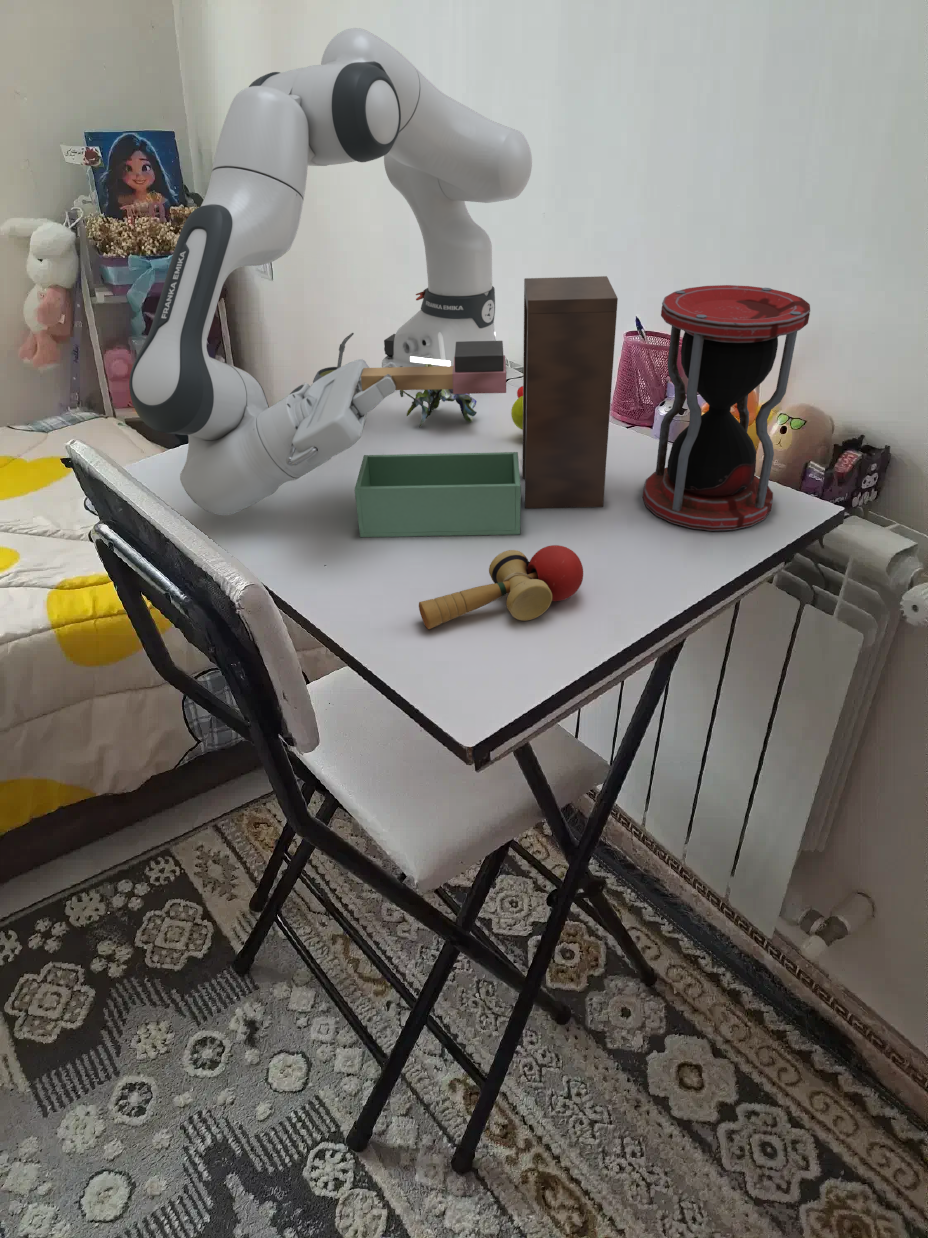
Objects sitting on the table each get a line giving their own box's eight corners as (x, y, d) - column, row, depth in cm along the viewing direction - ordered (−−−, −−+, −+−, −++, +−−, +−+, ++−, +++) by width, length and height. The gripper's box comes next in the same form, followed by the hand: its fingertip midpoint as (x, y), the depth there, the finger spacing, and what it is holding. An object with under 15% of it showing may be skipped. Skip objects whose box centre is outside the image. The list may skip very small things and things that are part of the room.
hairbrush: (360, 396, 97) (356, 359, 95) (366, 378, 102) (363, 342, 100) (506, 393, 97) (506, 355, 94) (505, 375, 102) (505, 339, 99)
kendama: (442, 661, 87) (601, 601, 90) (427, 607, 84) (592, 547, 87) (421, 631, 93) (569, 577, 97) (406, 580, 91) (560, 526, 94)
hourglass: (730, 545, 101) (766, 331, 87) (617, 504, 111) (634, 305, 96) (794, 498, 111) (836, 298, 96) (685, 464, 120) (709, 276, 106)
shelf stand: (525, 508, 111) (527, 300, 96) (522, 474, 119) (524, 278, 104) (603, 506, 110) (617, 297, 96) (594, 473, 119) (607, 275, 104)
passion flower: (467, 452, 139) (496, 406, 128) (404, 454, 134) (429, 406, 124) (449, 395, 142) (476, 346, 132) (388, 394, 138) (410, 343, 128)
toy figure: (553, 463, 121) (555, 418, 118) (514, 465, 122) (514, 419, 118) (543, 415, 136) (544, 374, 132) (508, 417, 136) (508, 375, 132)
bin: (359, 537, 106) (354, 488, 102) (368, 501, 114) (363, 454, 110) (520, 534, 105) (520, 485, 101) (517, 498, 113) (517, 451, 109)
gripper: (265, 447, 93) (369, 382, 89) (298, 382, 110) (387, 325, 106) (301, 492, 96) (403, 432, 92) (327, 422, 113) (415, 369, 109)
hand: (395, 374), depth 99 cm, fingers closed on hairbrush, 3 cm apart
